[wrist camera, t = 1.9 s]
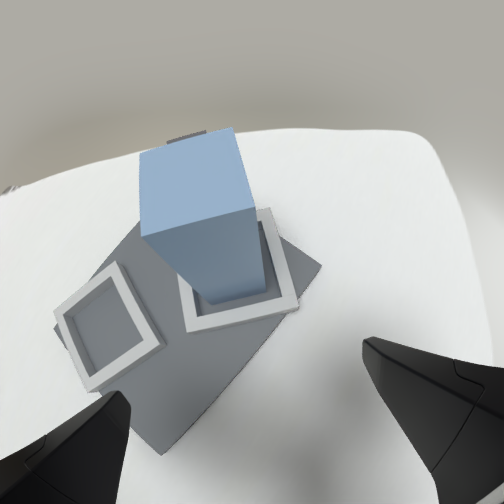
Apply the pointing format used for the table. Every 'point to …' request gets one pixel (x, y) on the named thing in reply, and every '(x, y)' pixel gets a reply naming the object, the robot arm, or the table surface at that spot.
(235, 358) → the panel
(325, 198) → the table surface
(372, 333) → the table surface
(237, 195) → the plug
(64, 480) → the robot arm
